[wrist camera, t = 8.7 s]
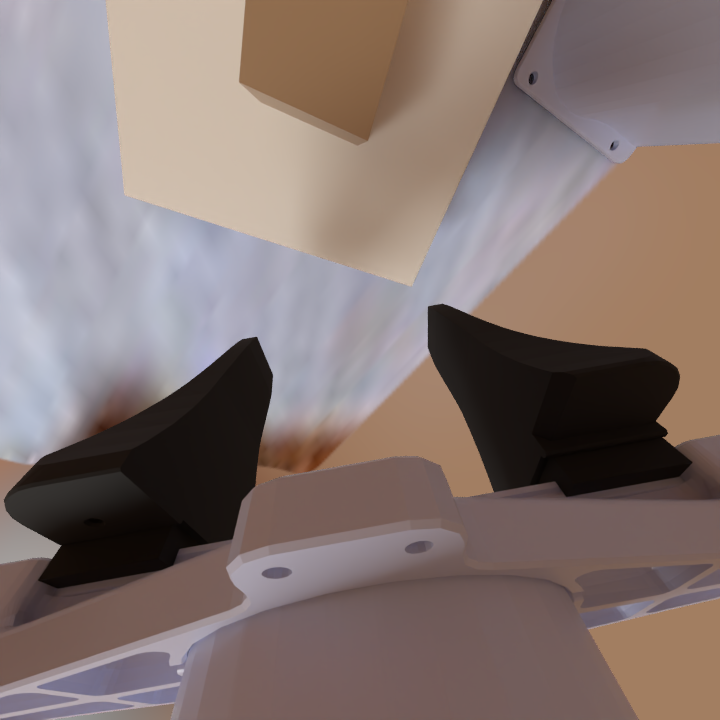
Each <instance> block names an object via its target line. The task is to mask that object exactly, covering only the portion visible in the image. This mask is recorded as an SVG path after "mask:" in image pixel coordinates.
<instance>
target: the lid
mask: <svg viewBox="0 0 720 720" xmlns="http://www.w3.org/2000/svg"><path fill="white" fill-rule="evenodd" d="M542 1H543V0H106V8H107V19H108V29H109V39H110V49H111V60H112V70H113V80H114V91H115V101H116V111H117V122H118V132H119V142H120V152H121V163H122V173H123V183H124V194H125V195H126V196H129V197H132V198H135V199H138V200H141V201H145V202H148V203H151V204H154V205H157V206H160V207H163V208H167V209H170V210H173V211H176V212H179V213H182V214H185V215H188V216H192V217H195V218H198V219H201V220H204V221H207V222H210V223H214V224H217V225H220V226H223V227H226V228H229V229H232V230H236V231H239V232H242V233H245V234H248V235H251V236H254V237H257V238H261V239H264V240H267V241H270V242H273V243H276V244H279V245H283V246H286V247H289V248H292V249H295V250H298V251H301V252H304V253H308V254H311V255H314V256H317V257H320V258H323V259H326V260H330V261H333V262H336V263H339V264H342V265H345V266H348V267H352V268H355V269H358V270H361V271H364V272H367V273H370V274H373V275H377V276H380V277H383V278H386V279H389V280H392V281H395V282H399V283H402V284H405V285H408V286H411V287H412V285H413V283H414V280H415V278H416V276H417V274H418V272H419V269H420V267H421V265H422V263H423V261H424V259H425V256H426V254H427V252H428V250H429V248H430V245H431V243H432V241H433V239H434V237H435V235H436V232H437V230H438V228H439V226H440V224H441V221H442V219H443V217H444V215H445V213H446V211H447V208H448V206H449V204H450V202H451V200H452V197H453V195H454V193H455V191H456V189H457V187H458V184H459V182H460V180H461V178H462V176H463V173H464V171H465V169H466V167H467V165H468V163H469V160H470V158H471V156H472V154H473V152H474V150H475V147H476V145H477V143H478V141H479V139H480V136H481V134H482V132H483V130H484V128H485V126H486V123H487V121H488V119H489V117H490V115H491V112H492V110H493V108H494V106H495V104H496V102H497V99H498V97H499V95H500V93H501V91H502V88H503V86H504V84H505V82H506V80H507V78H508V75H509V73H510V71H511V69H512V67H513V64H514V62H515V60H516V58H517V56H518V54H519V51H520V49H521V47H522V45H523V43H524V41H525V38H526V36H527V34H528V32H529V30H530V27H531V25H532V23H533V21H534V19H535V17H536V14H537V12H538V10H539V8H540V6H541V3H542Z"/></svg>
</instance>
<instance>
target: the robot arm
mask: <svg viewBox="0 0 720 720" xmlns="http://www.w3.org/2000/svg"><path fill="white" fill-rule="evenodd" d="M531 73H532V74H533V75H534V80H533V83H532V84H531V85H530V84H529V76H530V74H531ZM514 83H515V84H516V86H518V87H519V88H520V89H521V90H523V91H524V92H525V93H526V94H528V95H529V96H530V97H531V98H533V99H534V100H535V101H536V102H538V103H539V104H540V105H541V106H543V107H544V108H545V109H546V110H548V111H549V112H550V113H552V114H553V115H554V116H555V117H557V118H558V119H559V120H560V121H562V122H563V123H564V124H565V125H567V126H568V127H569V128H570V129H572V130H573V131H574V132H575V133H577V134H578V135H579V136H580V137H582V138H583V139H584V140H585V141H587V142H588V143H589V144H590V145H592V146H593V147H594V148H595V149H597V150H598V151H599V152H601V153H602V154H603V155H604V156H606V157H607V158H608V159H609V160H611V161H612V162H613V163H623V162H624V161H626V160H627V159H628V158H629V157H630V155H631V154H632V153H633V151H634V150H635V149H636V148H637V147H640V146H663V145H683V144H684V145H685V144H708V143H720V0H552V2H551V4H550V6H549V8H548V9H547V11H546V13H545V15H544V17H543V19H542V21H541V23H540V24H539V26H538V28H537V30H536V32H535V34H534V36H533V38H532V40H531V41H530V43H529V45H528V47H527V49H526V51H525V53H524V55H523V57H522V58H521V60H520V62H519V64H518V66H517V68H516V70H515V73H514ZM613 142H614V145H613V147H612V148H611V149H610V146H611V144H612V143H613ZM428 349H429V352H430V354H431V357H432V359H433V362H434V364H435V366H436V368H437V370H438V371H439V373H440V375H441V377H442V378H443V380H444V382H445V384H446V385H447V387H448V389H449V390H450V392H451V394H452V395H453V397H454V399H455V400H456V402H457V404H458V406H459V408H460V410H461V411H462V413H463V416H464V418H465V420H466V423H467V425H468V427H469V429H470V432H471V434H472V436H473V439H474V441H475V444H476V446H477V448H478V451H479V453H480V456H481V458H482V461H483V463H484V466H485V469H486V472H487V474H488V477H489V479H490V482H491V485H492V488H493V491H494V493H488V494H482V495H478V496H472V497H453V495H452V493H451V490H450V488H449V485H448V483H447V480H446V478H445V475H444V473H443V471H442V468H441V466H440V465H438V464H436V463H433V462H431V461H428V460H426V459H424V458H421V457H418V456H403V457H390V458H384V459H378V460H373V461H367V462H361V463H356V464H350V465H345V466H340V467H333V468H328V469H322V470H317V471H311V472H306V473H300V474H294V475H289V476H284V477H279V478H276V479H273V480H271V481H268V482H265V483H262V484H259V485H258V486H256V487H255V484H256V472H257V463H258V455H259V447H260V442H261V437H262V433H263V429H264V425H265V420H266V416H267V412H268V408H269V403H270V399H271V394H272V381H273V374H272V372H271V369H270V367H269V364H268V362H267V360H266V357H265V355H264V353H263V350H262V348H261V345H260V343H259V341H258V338H257V337H253V338H247V339H242V340H241V341H239V342H238V343H236V344H235V345H234V346H232V347H231V348H230V349H229V350H228V351H226V352H225V353H224V354H223V355H222V356H221V357H219V358H218V359H217V360H216V361H215V362H213V363H212V364H211V365H210V366H209V367H207V368H206V369H205V370H204V371H202V372H201V373H200V374H199V375H197V376H196V377H195V378H193V379H192V380H191V381H190V382H188V383H187V384H185V385H184V386H183V387H181V388H180V389H178V390H177V391H175V392H174V393H172V394H171V395H169V396H168V397H166V398H165V399H163V400H161V401H160V402H158V403H156V404H154V405H153V406H151V407H149V408H147V409H146V410H144V411H142V412H140V413H139V414H137V415H135V416H133V417H131V418H129V419H127V420H125V421H123V422H121V423H119V424H117V425H115V426H113V427H111V428H109V429H107V430H105V431H103V432H101V433H98V434H96V435H94V436H92V437H89V438H87V439H85V440H82V441H80V442H77V443H75V444H73V445H70V446H68V447H65V448H63V449H61V450H58V451H56V452H53V453H51V454H48V455H46V456H44V457H42V458H41V459H40V460H39V461H38V462H37V463H36V464H35V465H34V466H33V467H32V468H31V469H30V470H29V471H28V472H27V473H26V474H25V475H24V476H23V478H22V479H21V480H20V481H19V482H18V483H17V484H16V485H15V486H14V487H13V488H12V489H11V490H10V491H9V492H8V494H7V495H6V497H5V499H4V503H5V508H6V511H7V512H8V513H9V514H10V516H11V517H12V518H13V519H14V520H16V521H17V522H19V523H21V524H22V525H24V526H26V527H27V528H29V529H31V530H33V531H35V532H37V533H38V534H40V535H42V536H44V537H46V538H48V539H50V540H52V541H54V542H55V543H57V544H59V545H61V547H60V549H59V550H58V552H57V553H56V554H55V556H54V557H53V559H49V558H32V559H27V560H21V561H16V562H10V563H4V564H0V720H53V719H60V718H67V717H73V716H80V715H88V714H95V713H102V712H110V711H118V710H126V709H134V708H142V707H149V706H157V705H165V704H173V703H175V705H174V709H173V712H172V715H171V720H639V719H638V718H637V716H636V714H635V712H634V711H633V709H632V707H631V705H630V703H629V702H628V700H627V698H626V696H625V695H624V693H623V691H622V689H621V687H620V686H619V684H618V682H617V680H616V679H615V677H614V675H613V673H612V672H611V670H610V668H609V666H608V664H607V663H606V661H605V659H604V657H603V655H602V654H601V652H600V650H599V649H598V646H597V645H596V643H595V641H594V639H593V638H592V636H591V634H590V632H589V631H588V629H591V628H596V627H600V626H604V625H608V624H612V623H617V622H621V621H625V620H629V619H633V618H637V617H642V616H646V615H650V614H654V613H658V612H662V611H666V610H671V609H675V608H680V607H684V606H688V605H693V604H697V603H701V602H705V601H710V600H714V599H719V598H720V435H716V436H711V437H705V438H700V439H694V440H690V441H686V442H683V443H681V444H680V445H677V446H676V447H673V446H672V445H671V444H670V443H668V442H667V441H666V440H665V439H664V438H662V437H665V436H666V435H667V434H668V432H667V430H666V429H665V428H664V427H662V426H661V425H660V424H659V423H657V422H656V420H657V418H658V417H659V416H660V414H661V413H662V411H663V410H664V408H665V407H666V406H667V404H668V403H669V402H670V400H671V399H672V397H673V396H674V394H675V392H676V390H677V388H678V385H679V380H680V374H679V371H678V369H677V368H676V367H675V366H674V365H673V364H671V363H669V362H668V361H666V360H665V359H663V358H661V357H659V356H658V355H656V354H654V353H653V352H651V351H649V350H647V349H641V348H624V347H608V346H595V345H586V344H578V343H570V342H563V341H557V340H552V339H547V338H541V337H536V336H532V335H528V334H524V333H520V332H516V331H513V330H509V329H506V328H503V327H500V326H497V325H494V324H492V323H489V322H486V321H484V320H481V319H478V318H476V317H474V316H471V315H469V314H467V313H465V312H462V311H460V310H458V309H455V308H453V307H450V306H448V305H445V304H439V305H433V306H428Z"/></svg>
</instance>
